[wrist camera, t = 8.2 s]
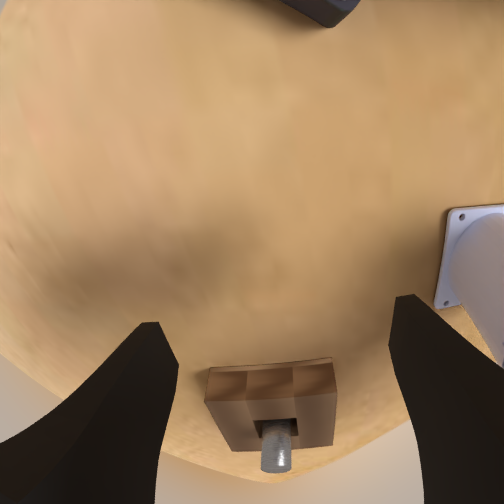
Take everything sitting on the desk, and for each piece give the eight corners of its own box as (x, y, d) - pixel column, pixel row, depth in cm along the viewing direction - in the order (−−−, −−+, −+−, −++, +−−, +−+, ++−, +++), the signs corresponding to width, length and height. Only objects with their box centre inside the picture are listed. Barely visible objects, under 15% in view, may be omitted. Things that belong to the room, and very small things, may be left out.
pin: (287, 392, 25) (288, 462, 19) (291, 405, 26) (293, 471, 20) (260, 395, 26) (257, 465, 20) (266, 408, 27) (264, 474, 21)
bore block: (331, 357, 24) (337, 392, 21) (329, 416, 28) (332, 445, 25) (210, 367, 25) (204, 401, 22) (234, 423, 30) (231, 451, 27)
